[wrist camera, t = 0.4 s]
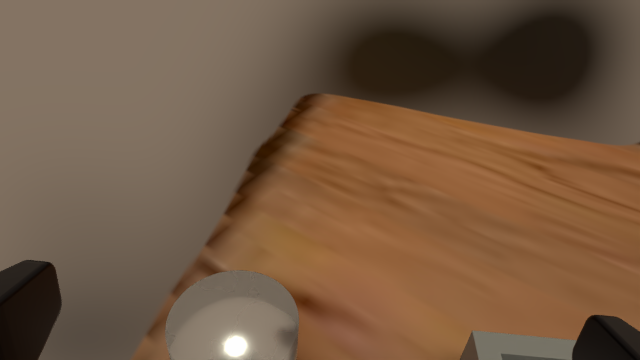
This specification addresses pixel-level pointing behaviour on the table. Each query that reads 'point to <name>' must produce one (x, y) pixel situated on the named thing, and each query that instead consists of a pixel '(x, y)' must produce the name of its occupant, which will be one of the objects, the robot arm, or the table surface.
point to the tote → (516, 347)
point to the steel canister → (233, 320)
